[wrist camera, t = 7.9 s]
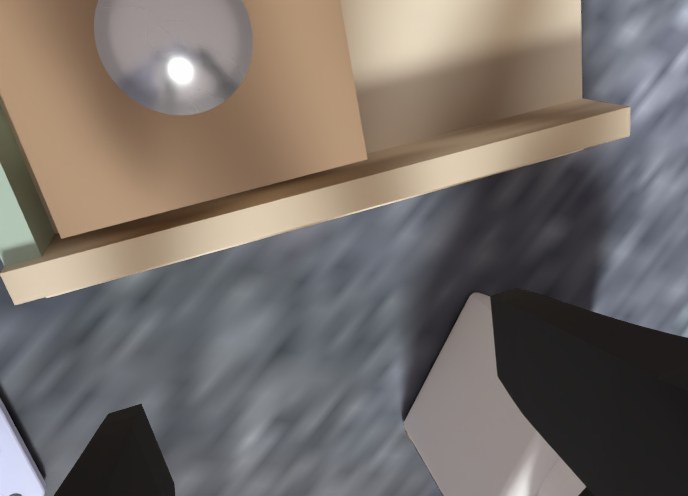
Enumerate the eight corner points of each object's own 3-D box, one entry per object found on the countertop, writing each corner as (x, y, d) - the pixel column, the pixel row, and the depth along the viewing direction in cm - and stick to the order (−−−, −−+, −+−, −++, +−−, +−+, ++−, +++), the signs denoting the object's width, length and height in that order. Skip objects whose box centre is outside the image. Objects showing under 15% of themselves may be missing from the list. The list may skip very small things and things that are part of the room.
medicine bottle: (398, 425, 26) (559, 710, 15) (469, 287, 24) (707, 495, 13) (518, 452, 29) (728, 710, 18) (589, 329, 27) (867, 530, 16)
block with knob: (83, 197, 18) (13, 329, 10) (-35, -103, 14) (-274, -254, 7) (332, 135, 19) (441, 209, 11) (277, -151, 16) (376, -320, 8)
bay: (52, 285, 20) (29, 335, 16) (-170, -217, 14) (-271, -289, 11) (567, 145, 23) (629, 164, 20) (555, -300, 17) (639, -372, 14)
